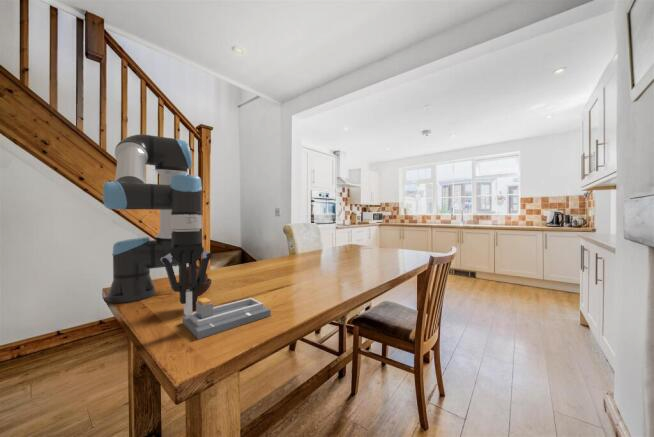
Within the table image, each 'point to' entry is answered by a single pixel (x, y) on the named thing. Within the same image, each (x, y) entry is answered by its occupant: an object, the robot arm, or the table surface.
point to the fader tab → (204, 308)
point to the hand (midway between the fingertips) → (188, 313)
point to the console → (226, 317)
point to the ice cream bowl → (199, 290)
